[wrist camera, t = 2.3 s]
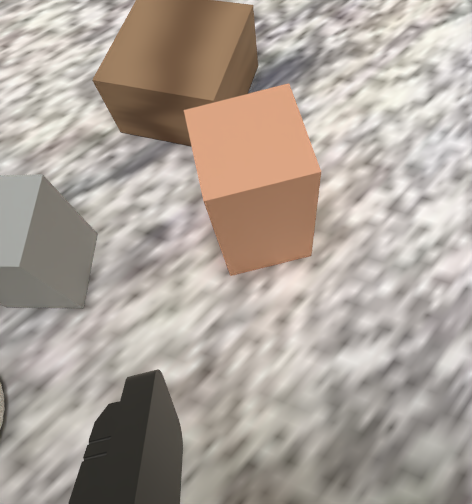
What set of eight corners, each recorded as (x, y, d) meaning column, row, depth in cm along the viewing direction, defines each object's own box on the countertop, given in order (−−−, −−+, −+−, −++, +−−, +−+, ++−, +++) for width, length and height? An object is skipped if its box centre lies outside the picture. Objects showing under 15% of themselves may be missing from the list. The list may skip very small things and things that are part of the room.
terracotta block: (230, 275, 26) (203, 201, 18) (214, 205, 28) (183, 110, 20) (311, 255, 26) (321, 171, 18) (289, 187, 28) (289, 83, 20)
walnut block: (120, 132, 32) (92, 80, 27) (160, 51, 34) (140, -8, 30) (225, 152, 30) (213, 100, 25) (258, 65, 33) (253, 5, 28)
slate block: (7, 307, 27) (-80, 266, 21) (25, 234, 29) (-48, 176, 23) (83, 308, 27) (19, 266, 20) (97, 234, 29) (42, 174, 22)
